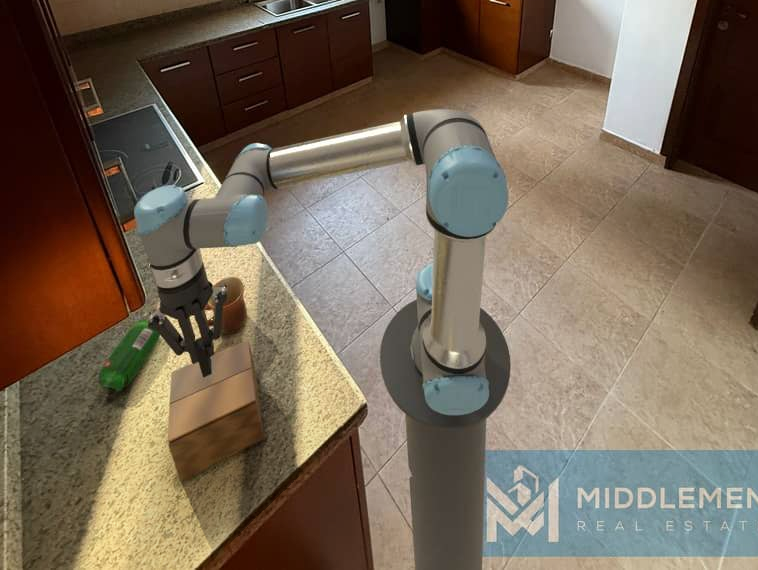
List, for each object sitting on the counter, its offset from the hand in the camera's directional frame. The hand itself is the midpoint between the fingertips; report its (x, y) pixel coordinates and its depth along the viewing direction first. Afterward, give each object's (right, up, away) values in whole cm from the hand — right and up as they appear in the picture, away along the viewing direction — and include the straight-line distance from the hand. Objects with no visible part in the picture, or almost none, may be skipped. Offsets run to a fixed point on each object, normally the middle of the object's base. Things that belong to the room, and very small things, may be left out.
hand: (207, 368), depth 80 cm
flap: (+1, -7, +1) cm, 7 cm away
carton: (0, -17, +7) cm, 18 cm away
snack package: (-26, -14, +20) cm, 36 cm away
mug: (-7, -11, +27) cm, 30 cm away
